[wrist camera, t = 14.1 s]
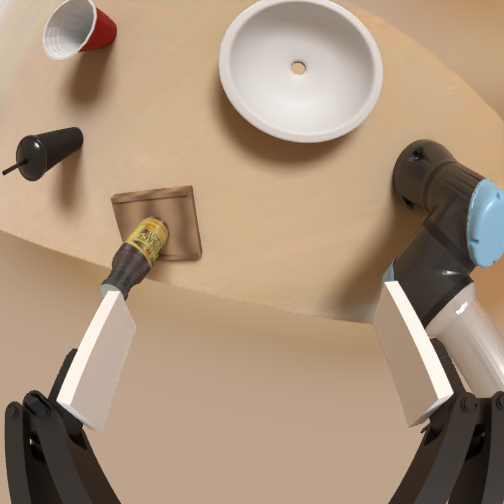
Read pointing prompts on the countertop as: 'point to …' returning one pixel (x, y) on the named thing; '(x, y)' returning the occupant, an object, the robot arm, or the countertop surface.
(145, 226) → the sauce bottle
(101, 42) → the plastic cup
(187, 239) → the board
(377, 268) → the countertop surface
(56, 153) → the drinking cup
